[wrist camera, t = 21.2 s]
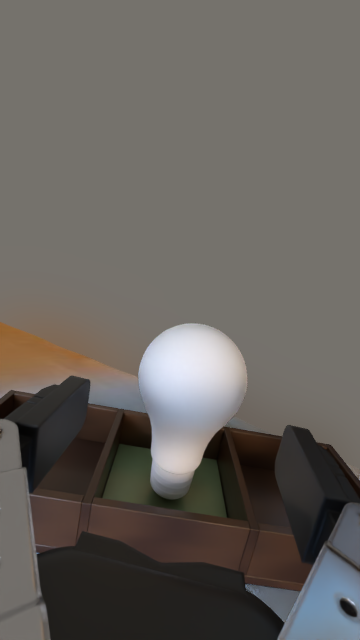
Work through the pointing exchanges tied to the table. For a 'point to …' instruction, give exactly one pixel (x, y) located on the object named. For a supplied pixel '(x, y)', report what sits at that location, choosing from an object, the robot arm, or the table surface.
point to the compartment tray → (171, 514)
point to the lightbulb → (188, 399)
